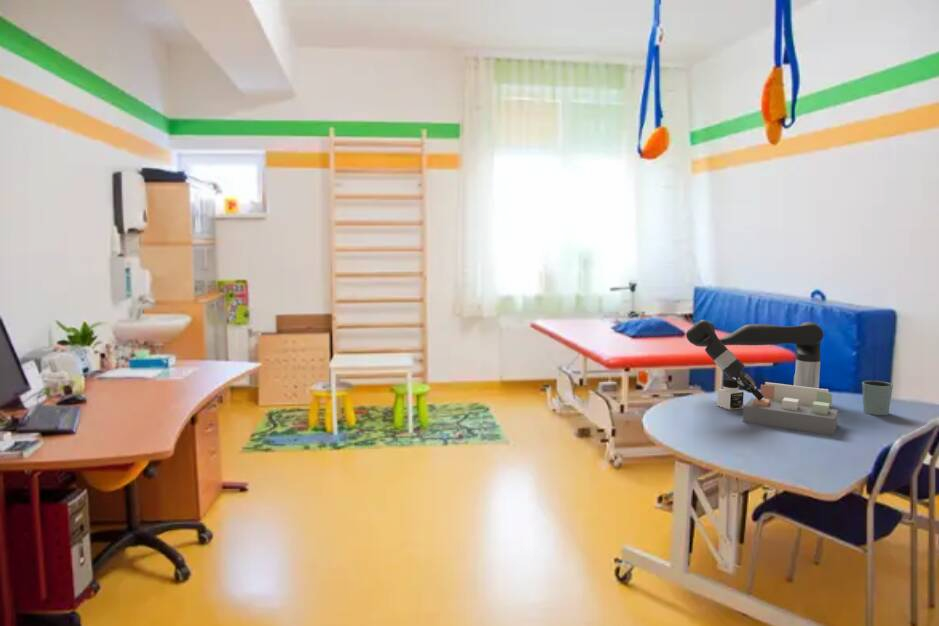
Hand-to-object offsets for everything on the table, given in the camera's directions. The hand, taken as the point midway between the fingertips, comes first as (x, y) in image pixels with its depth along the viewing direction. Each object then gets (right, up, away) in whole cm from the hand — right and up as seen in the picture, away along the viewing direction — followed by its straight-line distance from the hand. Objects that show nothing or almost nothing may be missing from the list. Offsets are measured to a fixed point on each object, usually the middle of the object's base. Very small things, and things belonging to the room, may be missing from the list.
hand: (761, 398), depth 248 cm
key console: (+10, -8, -3) cm, 13 cm away
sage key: (+17, -5, -11) cm, 20 cm away
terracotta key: (0, -5, +1) cm, 5 cm away
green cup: (+49, -7, +9) cm, 51 cm away
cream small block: (+8, -4, -5) cm, 11 cm away
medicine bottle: (-5, -6, +18) cm, 20 cm away
